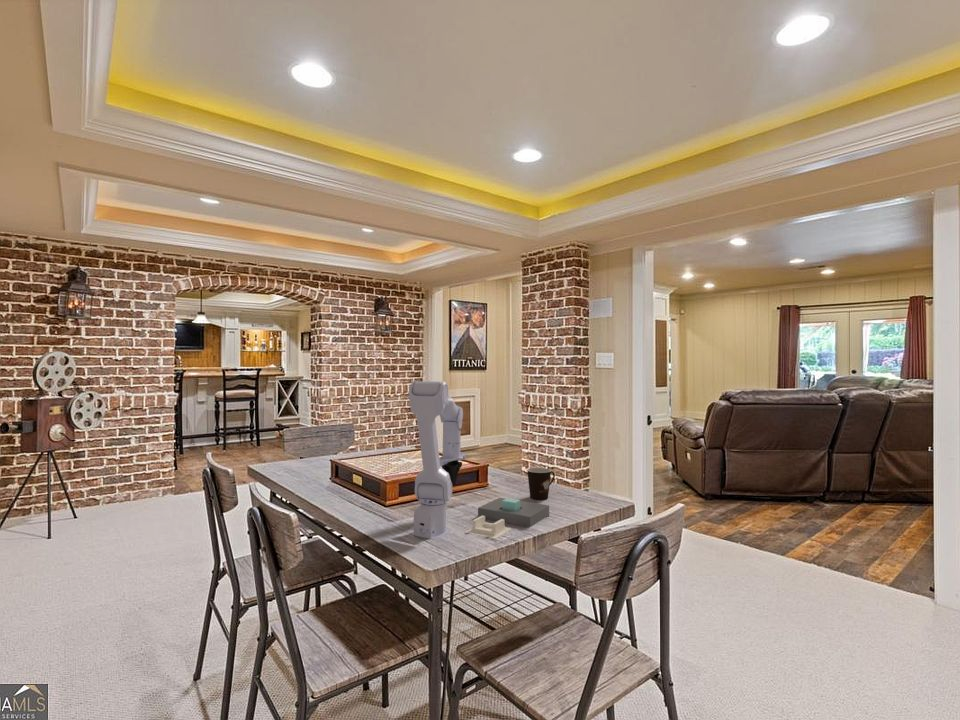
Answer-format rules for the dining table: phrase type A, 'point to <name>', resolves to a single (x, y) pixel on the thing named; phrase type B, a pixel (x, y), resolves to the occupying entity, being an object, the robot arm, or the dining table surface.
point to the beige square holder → (488, 528)
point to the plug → (511, 504)
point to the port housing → (515, 513)
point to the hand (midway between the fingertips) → (451, 484)
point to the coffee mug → (539, 482)
